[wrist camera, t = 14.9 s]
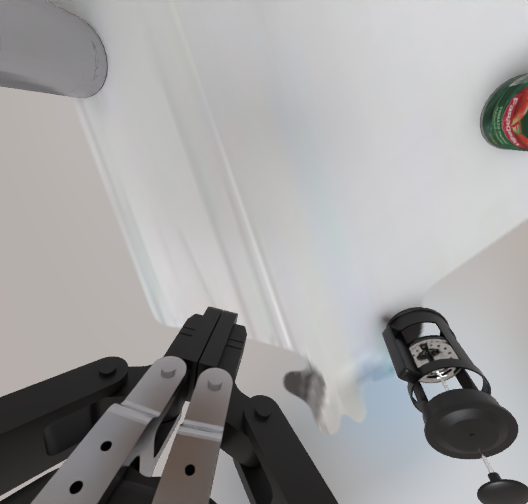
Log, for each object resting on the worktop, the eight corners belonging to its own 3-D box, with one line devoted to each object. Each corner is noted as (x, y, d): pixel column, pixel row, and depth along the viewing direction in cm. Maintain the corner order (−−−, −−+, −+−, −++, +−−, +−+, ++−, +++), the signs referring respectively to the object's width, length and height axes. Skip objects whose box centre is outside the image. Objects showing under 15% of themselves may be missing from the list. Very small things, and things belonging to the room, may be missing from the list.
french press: (465, 322, 44) (607, 496, 23) (429, 363, 48) (522, 544, 27) (395, 294, 44) (475, 443, 23) (365, 337, 48) (410, 499, 27)
